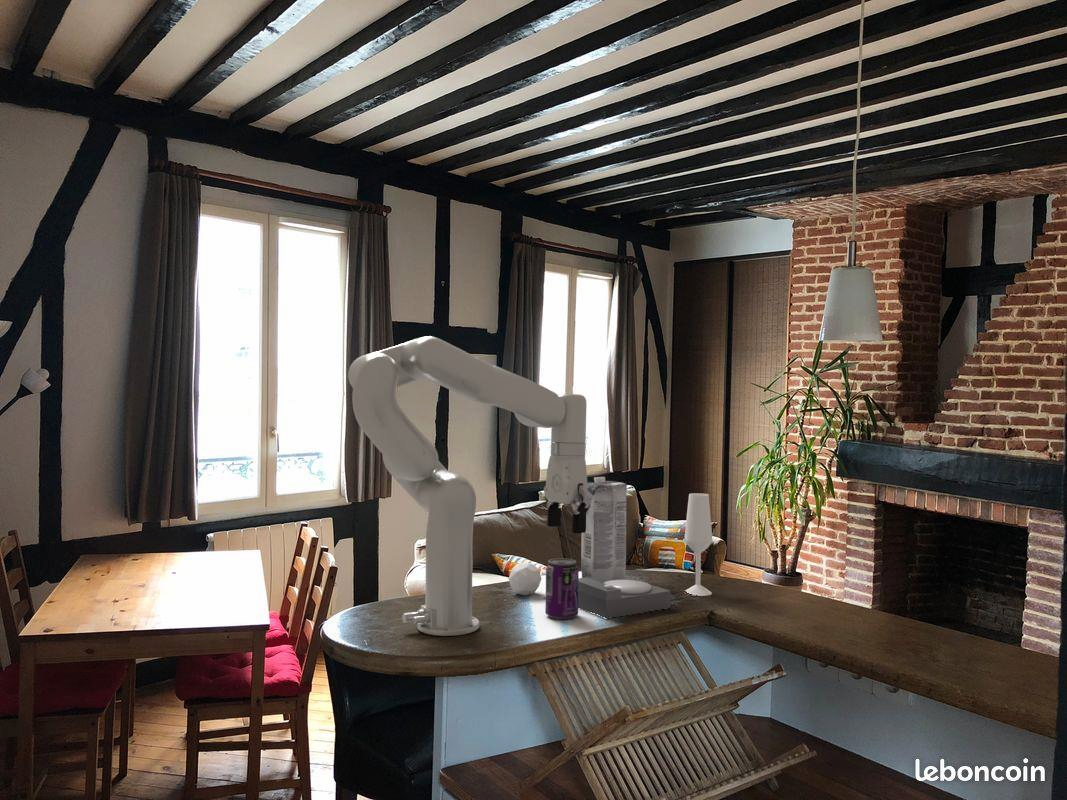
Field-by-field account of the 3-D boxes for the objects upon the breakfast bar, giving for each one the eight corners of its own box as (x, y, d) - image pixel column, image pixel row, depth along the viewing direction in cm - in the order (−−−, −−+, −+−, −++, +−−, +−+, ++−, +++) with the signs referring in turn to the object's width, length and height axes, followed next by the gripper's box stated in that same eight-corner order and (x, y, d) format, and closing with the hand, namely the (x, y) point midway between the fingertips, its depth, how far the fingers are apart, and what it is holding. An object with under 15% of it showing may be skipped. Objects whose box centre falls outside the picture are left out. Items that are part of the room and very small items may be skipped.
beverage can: (575, 622, 168) (576, 565, 168) (542, 619, 170) (543, 563, 170) (580, 613, 175) (580, 558, 175) (548, 611, 177) (549, 557, 177)
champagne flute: (679, 592, 195) (680, 494, 195) (691, 587, 200) (692, 492, 200) (704, 597, 191) (705, 496, 190) (716, 591, 196) (717, 494, 196)
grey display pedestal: (605, 619, 170) (606, 588, 170) (572, 605, 182) (572, 576, 182) (670, 608, 180) (670, 579, 180) (634, 596, 191) (634, 568, 191)
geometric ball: (528, 603, 194) (545, 575, 197) (531, 599, 186) (548, 569, 189) (502, 586, 195) (519, 558, 198) (503, 582, 187) (521, 553, 190)
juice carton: (630, 583, 204) (631, 478, 204) (597, 588, 199) (598, 479, 199) (609, 576, 212) (610, 475, 212) (576, 581, 206) (577, 476, 206)
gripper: (532, 448, 179) (530, 524, 179) (576, 453, 164) (574, 536, 164) (560, 448, 183) (558, 522, 183) (605, 453, 168) (603, 534, 168)
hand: (566, 529), depth 173 cm, fingers open, 9 cm apart
